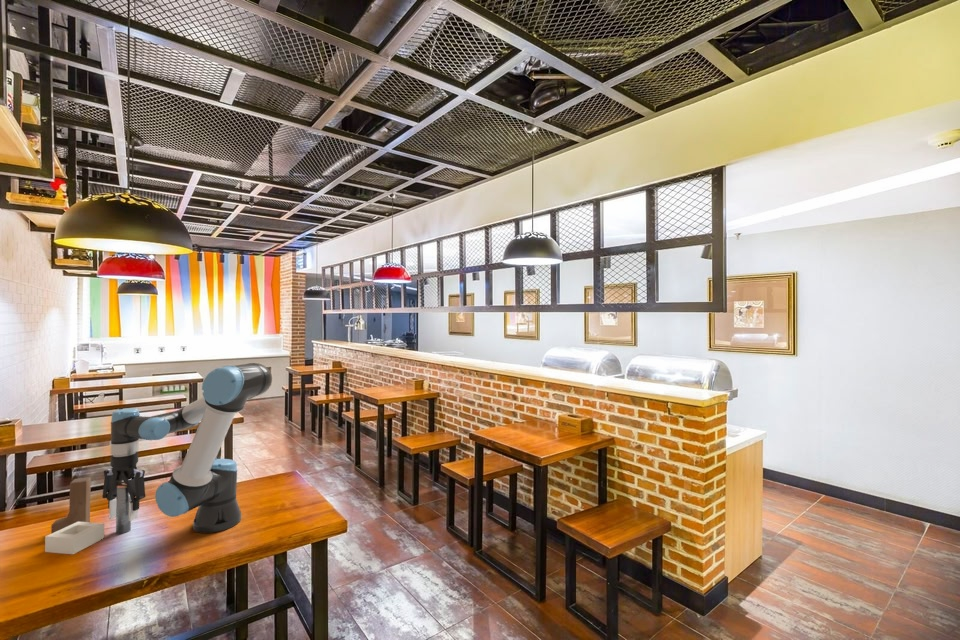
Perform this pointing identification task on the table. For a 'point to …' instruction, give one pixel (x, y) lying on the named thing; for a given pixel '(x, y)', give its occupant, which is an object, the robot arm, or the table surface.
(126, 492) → the peg
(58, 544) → the socket
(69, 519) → the wooden block
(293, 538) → the table surface
